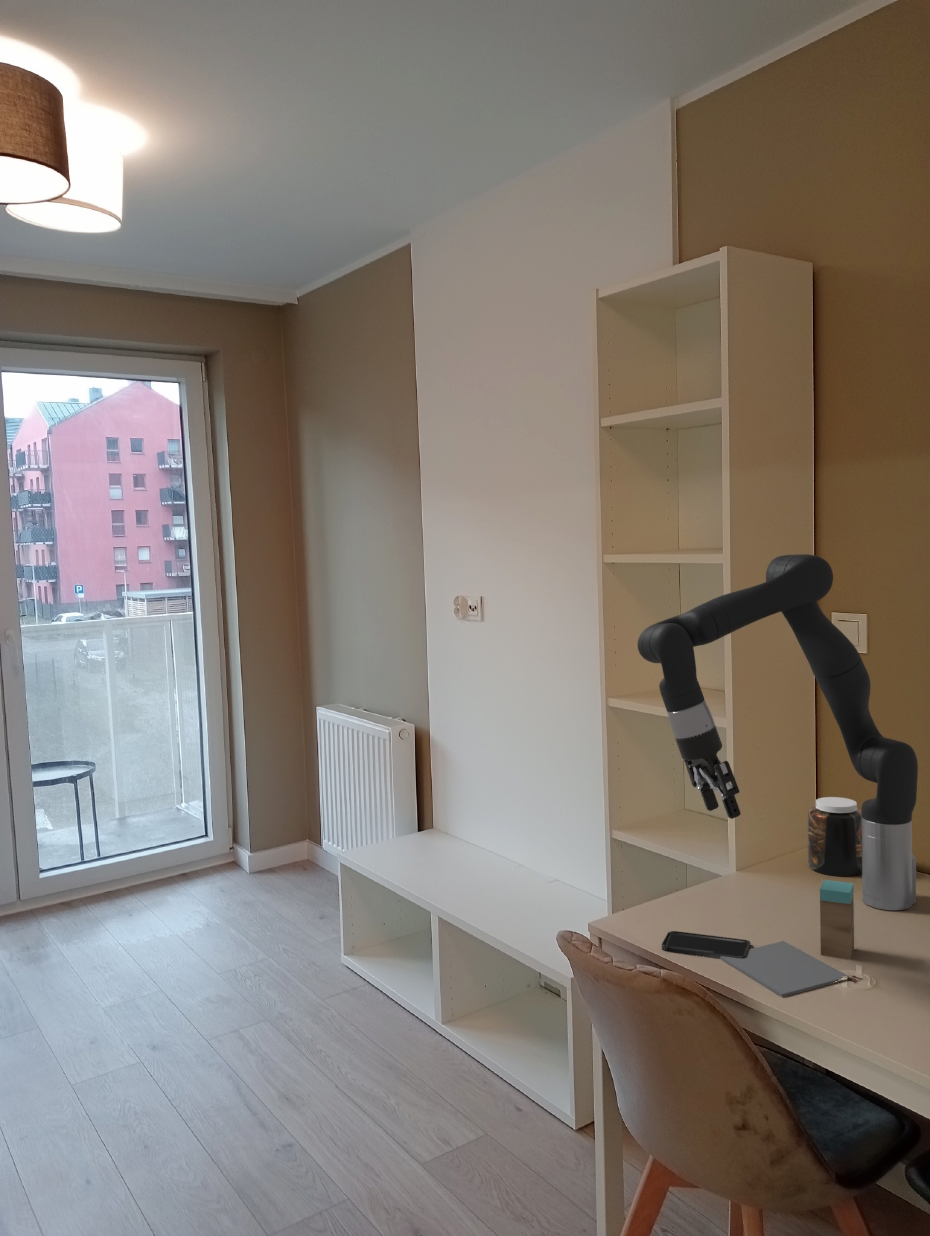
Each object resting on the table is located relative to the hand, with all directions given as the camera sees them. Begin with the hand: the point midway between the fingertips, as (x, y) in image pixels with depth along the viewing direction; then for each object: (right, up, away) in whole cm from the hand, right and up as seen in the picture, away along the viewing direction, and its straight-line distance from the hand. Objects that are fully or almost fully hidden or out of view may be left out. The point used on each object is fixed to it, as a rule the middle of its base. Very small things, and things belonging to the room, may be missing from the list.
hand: (723, 812), depth 173 cm
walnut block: (+20, -24, -2) cm, 31 cm away
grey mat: (+8, -25, -8) cm, 28 cm away
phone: (-3, -25, +2) cm, 26 cm away
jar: (+36, -21, +40) cm, 57 cm away
